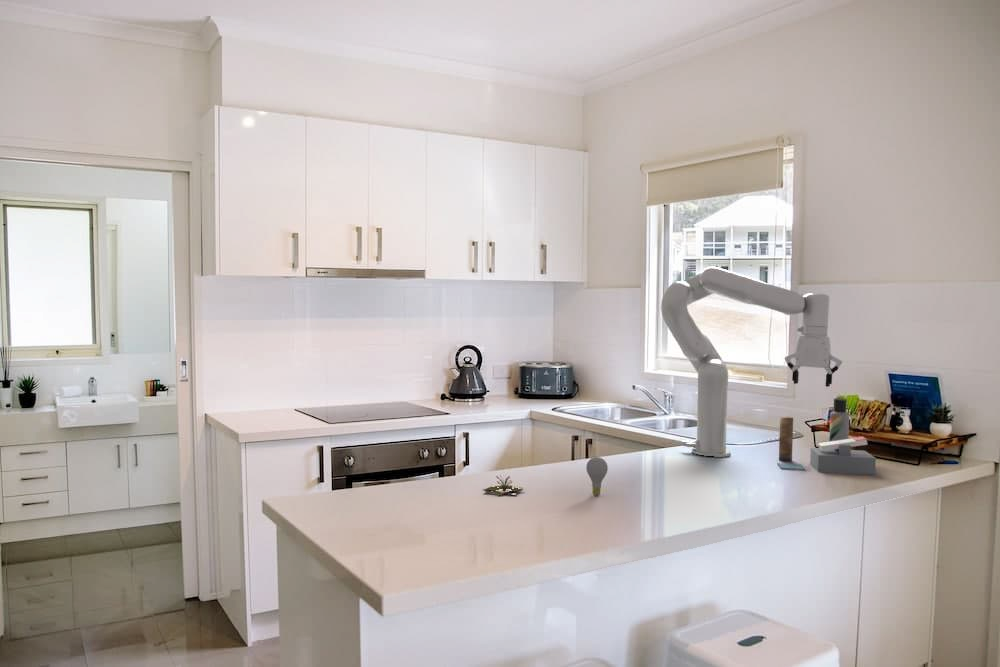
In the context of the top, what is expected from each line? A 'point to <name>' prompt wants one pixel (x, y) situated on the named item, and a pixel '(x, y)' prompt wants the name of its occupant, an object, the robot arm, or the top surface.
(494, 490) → the flowering plant
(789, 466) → the mat
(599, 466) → the light bulb
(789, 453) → the brown wooden block
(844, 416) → the lotion bottle
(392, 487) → the top surface
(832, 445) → the breaker rocker
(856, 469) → the box
